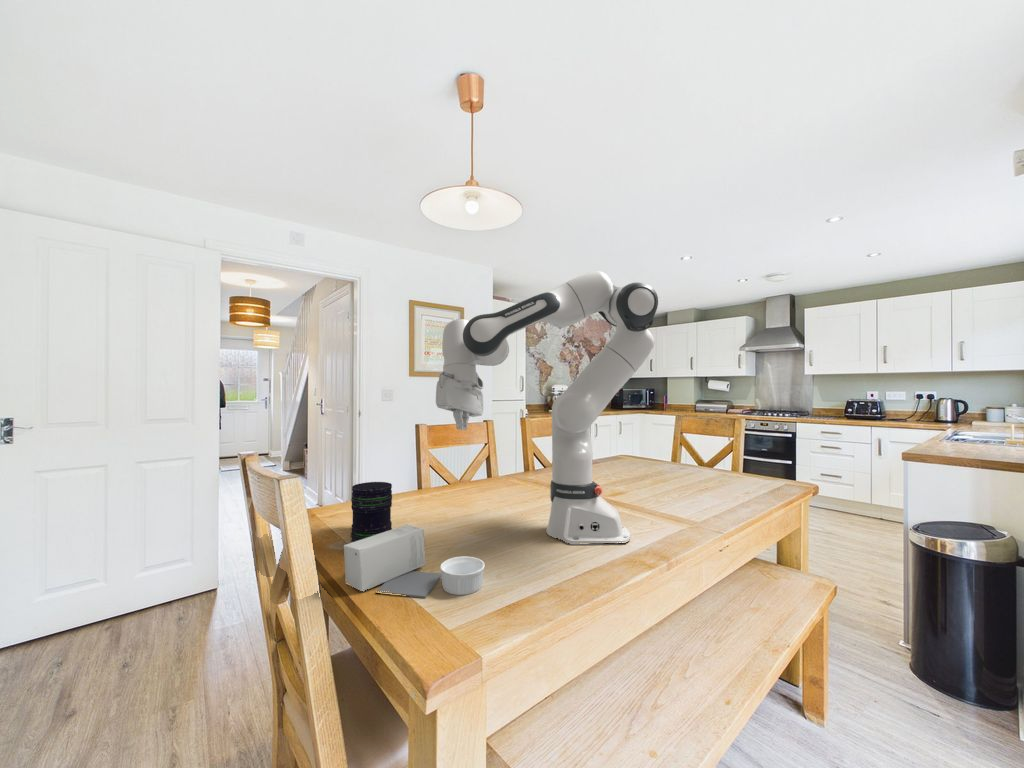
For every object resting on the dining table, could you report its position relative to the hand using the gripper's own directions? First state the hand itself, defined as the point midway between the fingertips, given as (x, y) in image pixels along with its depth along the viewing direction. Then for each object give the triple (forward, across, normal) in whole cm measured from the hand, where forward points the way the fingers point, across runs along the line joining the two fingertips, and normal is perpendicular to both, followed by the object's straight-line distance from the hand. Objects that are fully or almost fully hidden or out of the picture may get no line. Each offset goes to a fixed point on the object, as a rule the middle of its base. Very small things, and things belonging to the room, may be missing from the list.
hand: (462, 429), depth 110 cm
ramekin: (+34, -17, -8) cm, 39 cm away
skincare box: (+27, -12, +6) cm, 30 cm away
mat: (+33, -20, +2) cm, 39 cm away
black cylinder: (+28, -6, +24) cm, 37 cm away
